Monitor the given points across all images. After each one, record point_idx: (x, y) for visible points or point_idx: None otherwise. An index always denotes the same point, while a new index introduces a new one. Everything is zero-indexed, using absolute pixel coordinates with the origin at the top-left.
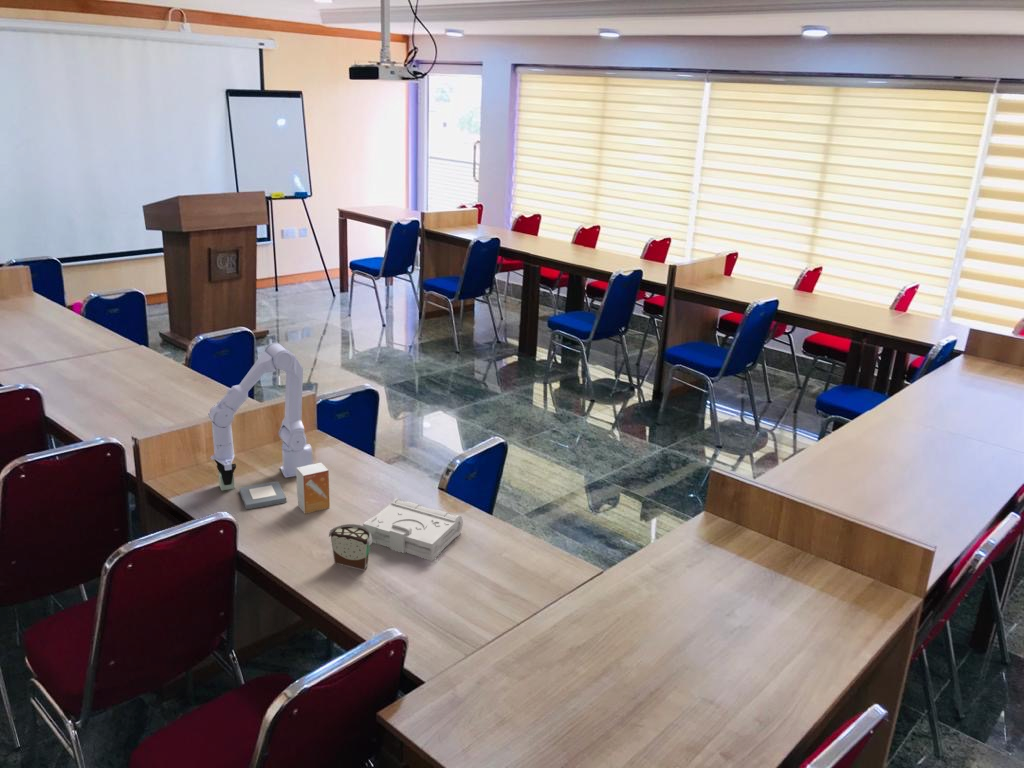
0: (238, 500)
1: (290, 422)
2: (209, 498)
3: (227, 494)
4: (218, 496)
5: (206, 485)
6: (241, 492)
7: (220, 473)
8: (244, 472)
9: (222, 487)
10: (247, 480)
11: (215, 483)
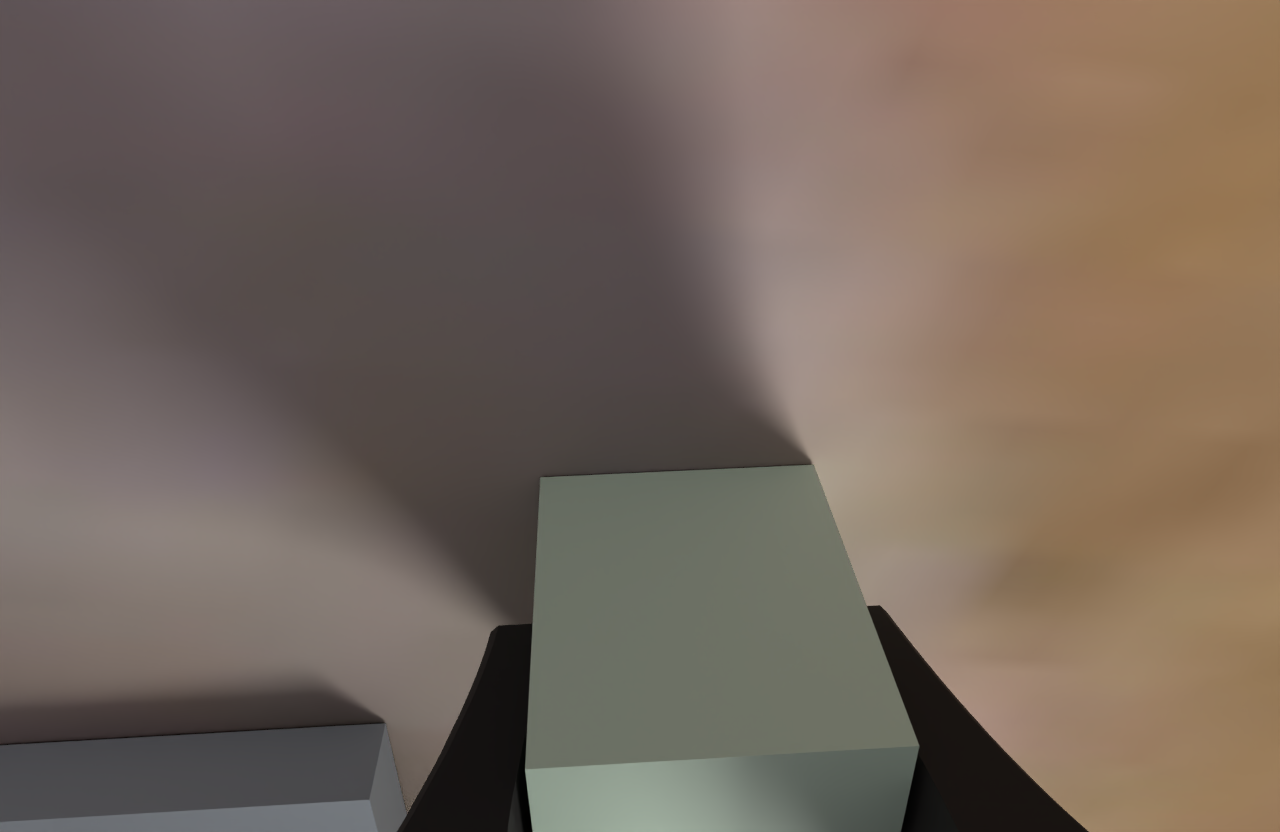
0: (38, 688)
1: None
2: (197, 210)
3: (332, 555)
4: (272, 401)
5: (941, 210)
6: (144, 817)
7: (718, 782)
8: (1083, 809)
9: (541, 541)
10: None
11: (936, 398)
